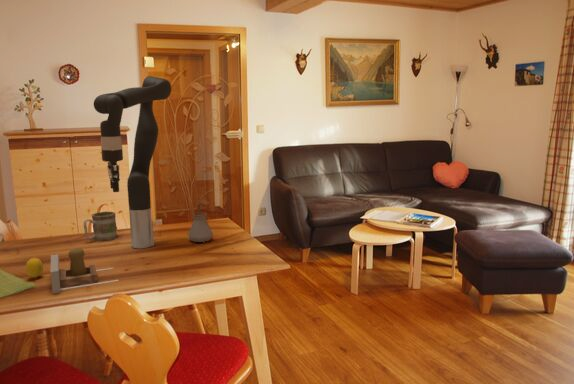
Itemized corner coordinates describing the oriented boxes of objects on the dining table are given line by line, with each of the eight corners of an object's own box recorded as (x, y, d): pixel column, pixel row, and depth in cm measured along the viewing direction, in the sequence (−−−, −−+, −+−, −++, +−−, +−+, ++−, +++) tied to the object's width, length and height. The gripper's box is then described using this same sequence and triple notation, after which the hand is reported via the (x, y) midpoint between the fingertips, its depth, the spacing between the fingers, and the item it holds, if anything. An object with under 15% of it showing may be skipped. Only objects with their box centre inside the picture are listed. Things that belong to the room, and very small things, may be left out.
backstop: (113, 267, 185) (111, 247, 184) (119, 284, 168) (117, 262, 166) (53, 275, 176) (50, 255, 175) (52, 294, 159) (50, 272, 157)
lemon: (31, 275, 176) (28, 255, 175) (46, 275, 177) (44, 254, 175) (24, 281, 171) (21, 260, 170) (40, 280, 171) (37, 259, 170)
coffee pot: (213, 243, 216) (212, 211, 214) (188, 244, 214) (186, 212, 211) (211, 231, 237) (210, 201, 234) (188, 232, 235) (186, 203, 232)
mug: (108, 234, 232) (107, 210, 230) (122, 237, 226) (120, 213, 224) (79, 241, 220) (76, 216, 218) (92, 245, 214) (90, 220, 212)
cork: (81, 281, 168) (78, 252, 166) (65, 280, 169) (63, 251, 167) (91, 275, 173) (88, 247, 171) (76, 274, 175) (73, 246, 173)
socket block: (95, 272, 179) (94, 264, 178) (97, 282, 168) (97, 274, 168) (60, 277, 174) (59, 269, 173) (60, 288, 163) (59, 280, 163)
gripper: (99, 147, 185) (102, 188, 188) (103, 150, 172) (106, 194, 175) (119, 146, 188) (122, 186, 191) (124, 149, 175) (127, 192, 178)
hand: (114, 190), depth 183 cm, fingers open, 8 cm apart
